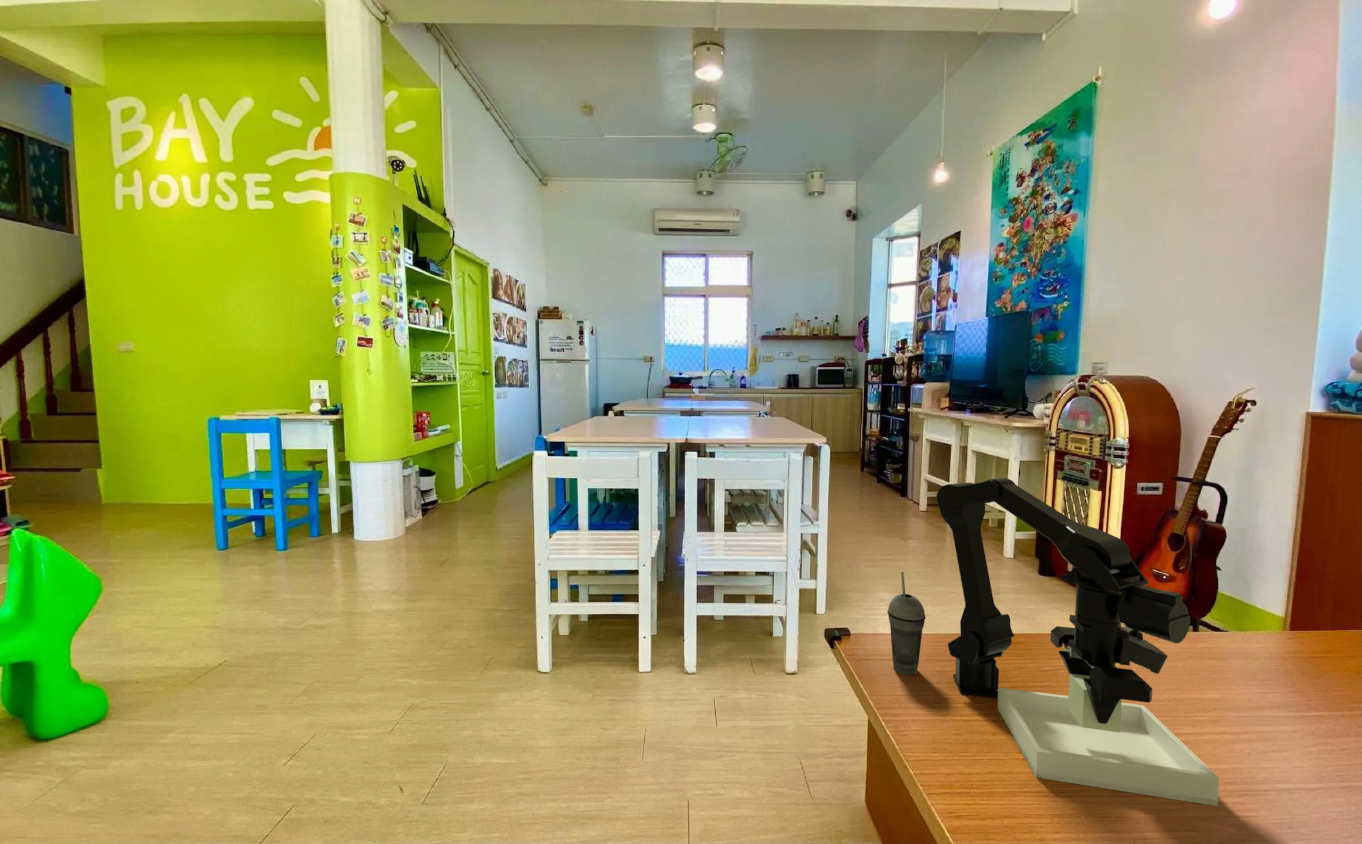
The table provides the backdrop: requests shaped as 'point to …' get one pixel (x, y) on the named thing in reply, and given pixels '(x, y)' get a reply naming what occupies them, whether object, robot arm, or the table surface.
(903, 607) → the beverage cup
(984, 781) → the table surface
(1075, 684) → the sage block
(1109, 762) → the bin
